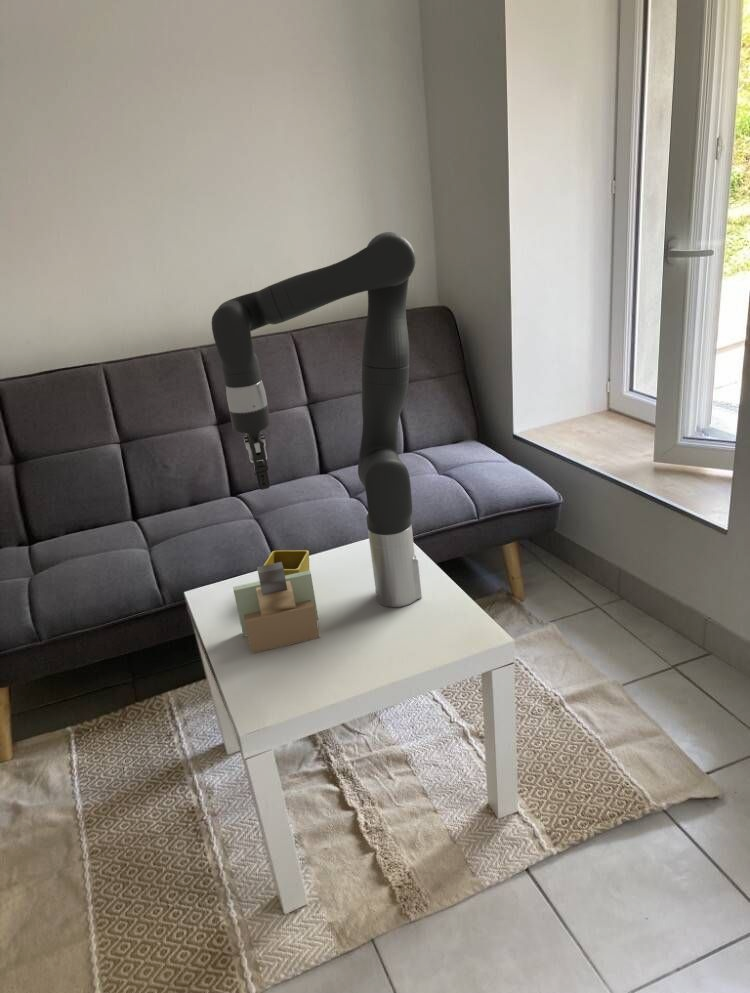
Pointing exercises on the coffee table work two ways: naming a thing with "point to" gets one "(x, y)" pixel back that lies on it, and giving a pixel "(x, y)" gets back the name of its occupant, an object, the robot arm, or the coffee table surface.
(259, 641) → the wall board
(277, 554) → the flower pot
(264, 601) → the cabinet block
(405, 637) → the coffee table surface
